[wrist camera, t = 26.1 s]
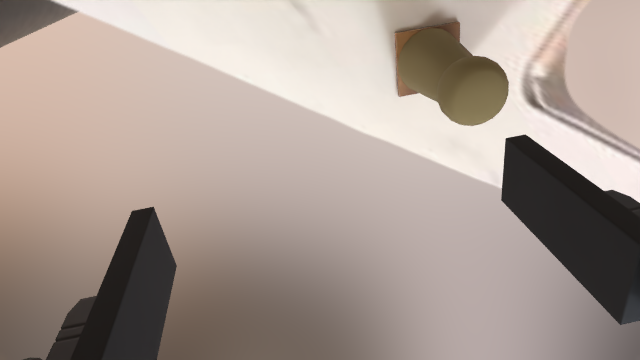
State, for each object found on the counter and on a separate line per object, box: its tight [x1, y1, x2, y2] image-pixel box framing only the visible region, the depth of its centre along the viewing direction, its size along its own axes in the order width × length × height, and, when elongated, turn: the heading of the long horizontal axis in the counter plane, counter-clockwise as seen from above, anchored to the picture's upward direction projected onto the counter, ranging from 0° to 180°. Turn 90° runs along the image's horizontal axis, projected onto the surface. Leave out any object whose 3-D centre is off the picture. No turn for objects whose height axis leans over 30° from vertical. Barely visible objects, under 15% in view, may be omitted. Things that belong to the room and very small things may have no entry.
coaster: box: [395, 22, 460, 97], centre depth 42 cm, size 6×6×1 cm
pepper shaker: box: [398, 28, 509, 126], centre depth 37 cm, size 6×6×11 cm
